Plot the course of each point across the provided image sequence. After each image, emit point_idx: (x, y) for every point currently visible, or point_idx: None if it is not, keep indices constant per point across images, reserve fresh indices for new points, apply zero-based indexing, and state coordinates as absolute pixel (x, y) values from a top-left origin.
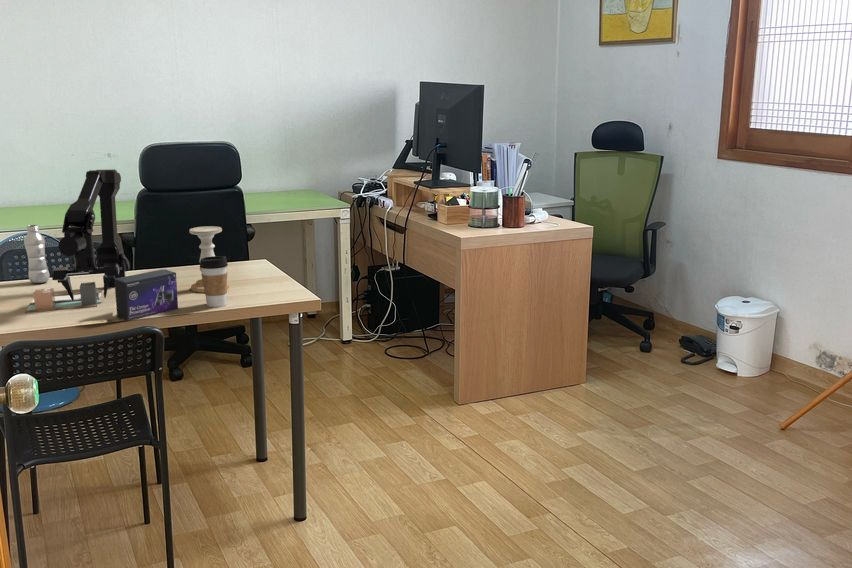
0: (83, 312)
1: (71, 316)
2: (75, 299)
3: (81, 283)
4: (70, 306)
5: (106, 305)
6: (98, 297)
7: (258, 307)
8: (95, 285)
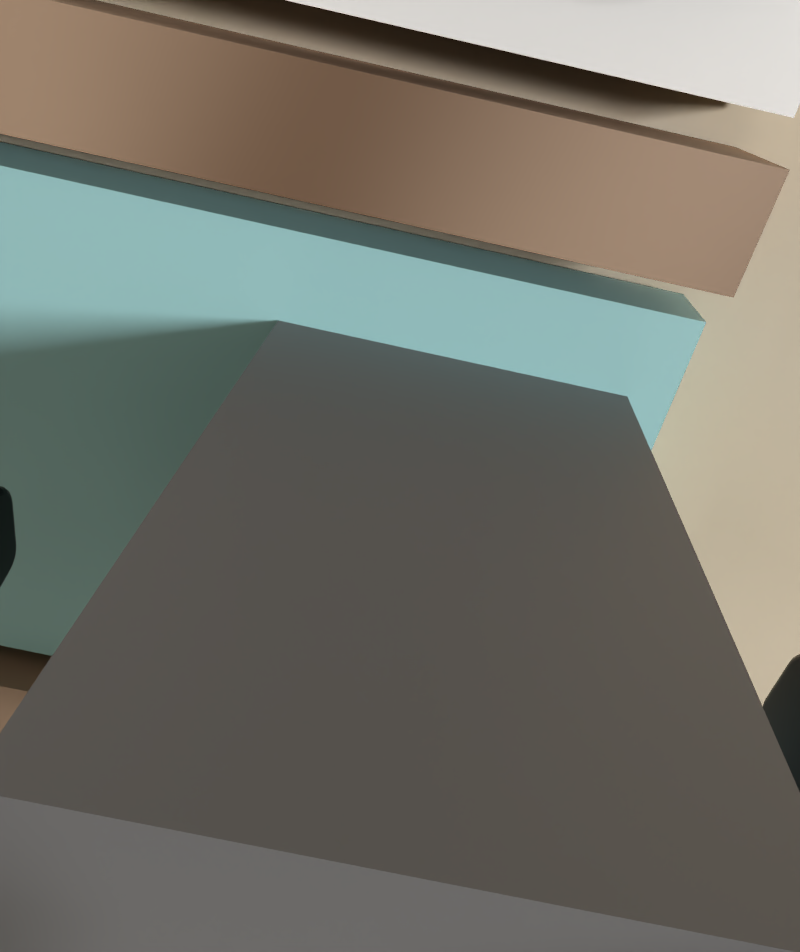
0: None
1: None
2: (28, 69)
3: (8, 905)
4: (15, 586)
5: (741, 539)
6: (745, 200)
7: None
8: (771, 769)
